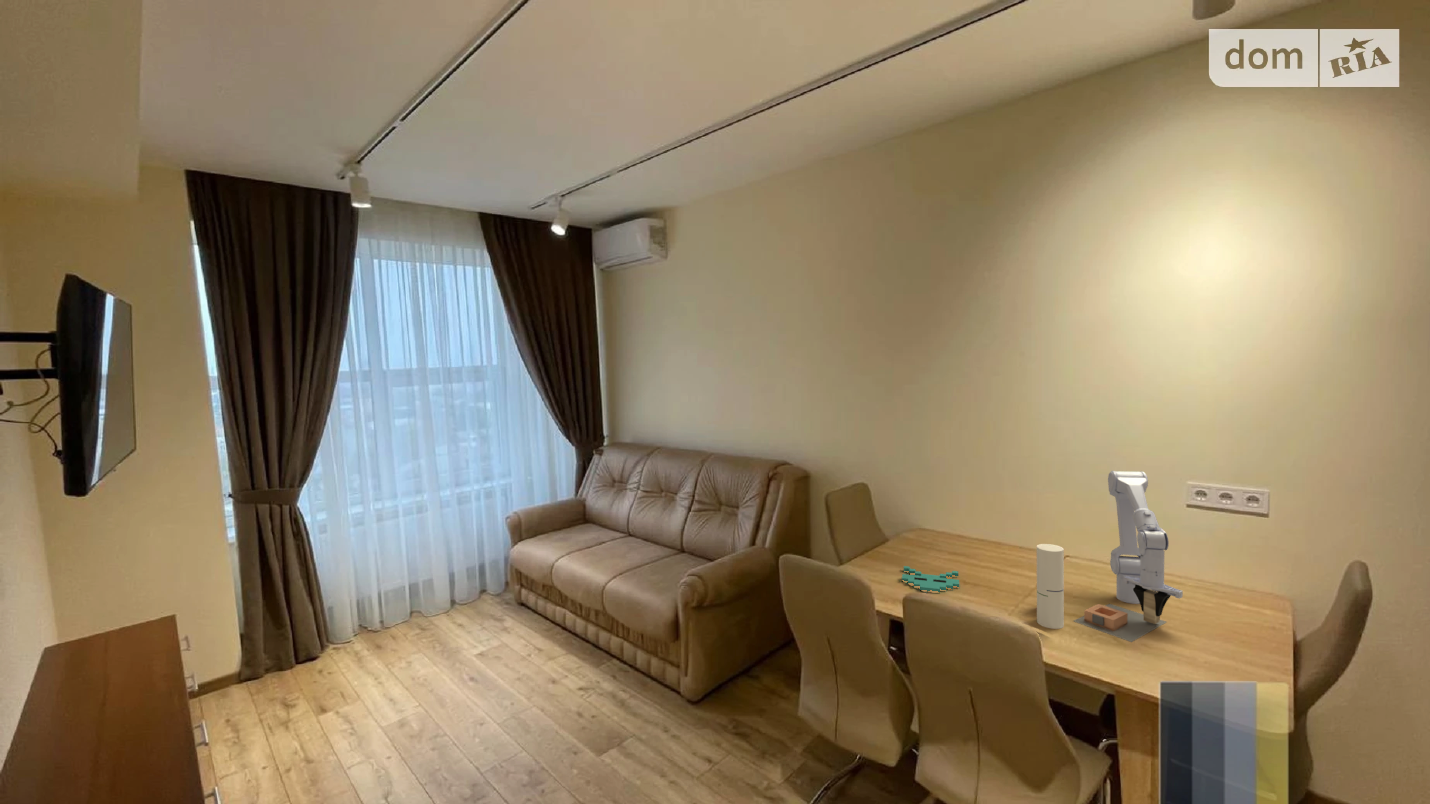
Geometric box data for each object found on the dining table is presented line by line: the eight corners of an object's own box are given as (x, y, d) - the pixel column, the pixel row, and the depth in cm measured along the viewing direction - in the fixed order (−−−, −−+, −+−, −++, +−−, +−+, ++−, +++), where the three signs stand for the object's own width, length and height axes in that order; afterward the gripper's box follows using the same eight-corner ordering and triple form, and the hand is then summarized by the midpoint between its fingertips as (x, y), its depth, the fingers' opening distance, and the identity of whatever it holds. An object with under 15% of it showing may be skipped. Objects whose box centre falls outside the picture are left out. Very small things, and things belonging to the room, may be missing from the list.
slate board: (1109, 606, 185) (1109, 603, 185) (1167, 625, 171) (1167, 621, 171) (1072, 624, 174) (1072, 621, 174) (1131, 645, 160) (1131, 642, 160)
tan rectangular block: (1148, 617, 172) (1148, 589, 172) (1159, 621, 170) (1160, 592, 169) (1143, 620, 171) (1143, 591, 170) (1155, 624, 168) (1155, 595, 167)
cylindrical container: (1063, 633, 168) (1063, 552, 167) (1036, 628, 172) (1036, 549, 170) (1063, 624, 174) (1063, 545, 173) (1037, 619, 178) (1037, 542, 176)
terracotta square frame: (1099, 613, 178) (1099, 603, 178) (1128, 623, 171) (1128, 612, 171) (1083, 621, 173) (1083, 610, 173) (1112, 631, 166) (1112, 620, 166)
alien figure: (904, 571, 224) (900, 590, 205) (903, 566, 224) (900, 584, 205) (958, 576, 216) (959, 597, 198) (958, 571, 216) (959, 591, 198)
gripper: (1118, 565, 173) (1118, 607, 174) (1175, 580, 161) (1174, 625, 162) (1129, 560, 177) (1129, 602, 178) (1186, 574, 164) (1185, 619, 165)
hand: (1151, 613), depth 170 cm, fingers closed on tan rectangular block, 3 cm apart
